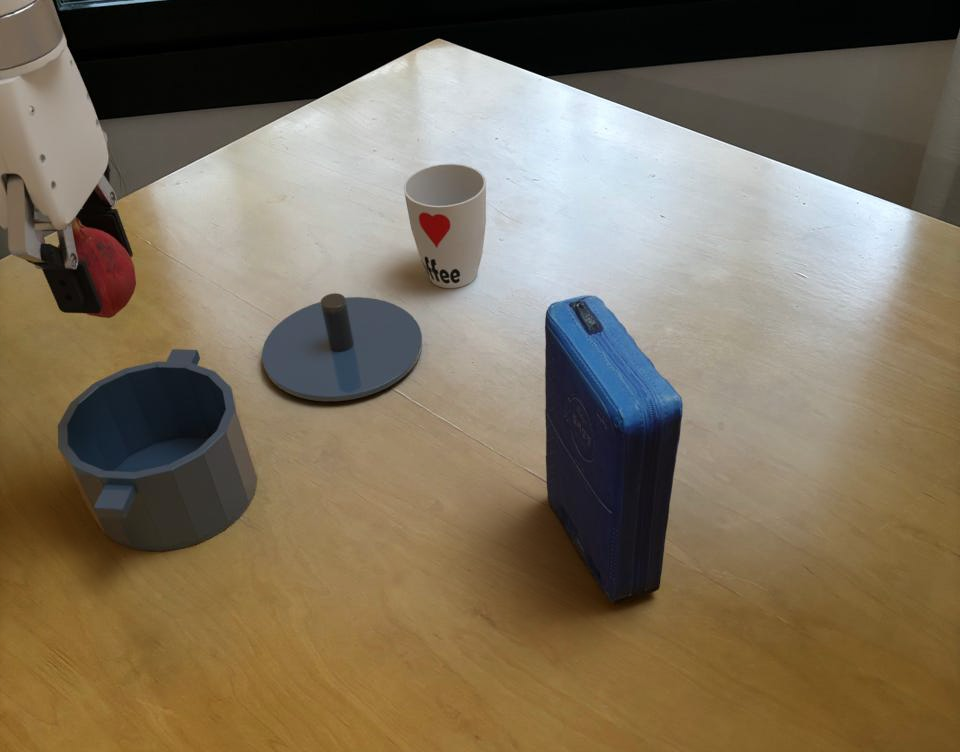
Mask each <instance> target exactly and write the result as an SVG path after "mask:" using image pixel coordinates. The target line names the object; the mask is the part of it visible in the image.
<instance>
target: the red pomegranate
mask: <svg viewBox="0 0 960 752" xmlns="http://www.w3.org/2000/svg"><path fill="white" fill-rule="evenodd" d="M71 226H72V231H73V236H74V241H75V246H76V252H77V257H78V261H85V262H86V265H87V267H88V270H89V272H90V275H91V277H92V280H93V282H94V285H95V287H96V290H97V292H98V295H99V297H100V300H101V302H102V305H103V308H102V310H101V311H100V313H97V314H95V313H85V314H86V315H88V316H91V317H97V318H104V319H105V318H106V319H110V318H113V317H115V316H116V315H117V314H118V313H119V312H121V311H122V310H124V309H125V308H126V307H127V305H128V303H129V302H130V300H131V298H132V297H133V295H134V294H135V289H136V285H137V279H136V270H135V264H134V262H133V259H132V257H130V255H129V254H128V252H127V251H126V249H125V248H124V247H123V246H122V245H121V244H120V243H119V242H118V241H117V240H116V239H115V238H114V237H112V236H111V235H109V234H108V233H105V232H103V231H101V230H98V229H94V228H89V227H85V226H84V225H82V224H81V223H80V220H79V219H76V217H75V218H74V219H73V220H72V221H71ZM57 247H58V248H60V245H59V244H58V245H57Z"/></svg>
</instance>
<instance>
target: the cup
mask: <svg viewBox="0 0 960 752" xmlns="http://www.w3.org/2000/svg"><path fill="white" fill-rule="evenodd" d="M403 192H404V197H405V198H404V199H405V203H406V208H407V213H408V218H409V224H410V225H409V226H410V229H411V233H412V236H413V239H414V242H415V246H416V249H417V252H418V256H419V258H420V261H421V264H422V265H423V267H424V269H425V271H426V274H427V275H428V278H429V279H430V281H431V283H432V284H433V285H435V286H438V287H440V288H442V289H443V288H444V289H459V288H462V287H465V286H468V285H470V284H471V283H473V282H474V281H475V279H476V278H477V276H478V271H479V268H480V264H481V260H482V257H483V253H484V242H485V234H486V224H487V180H486V177H485V175H484V174H483V173H482V172H481V171H480V170H479V169H477V168H474V167H472V166H470V165H465V164H462V163H461V164H460V163H441V164H434V165H430V166H427V167H424V168H422V169H419V170H418V171H416V172H414V173H413V174H411V175H410V176H409V177H407V179H406V180H405V182H404V184H403Z"/></svg>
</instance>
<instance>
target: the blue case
mask: <svg viewBox="0 0 960 752" xmlns="http://www.w3.org/2000/svg"><path fill="white" fill-rule="evenodd" d="M544 335H545V348H544V349H545V351H544V353H545V363H544V364H545V365H544V367H545V368H544V369H545V370H544V377H545V379H544V381H545V383H544V384H545V385H544V386H545V387H544V388H545V389H544V390H545V391H544V393H545V410H544V415H545V416H544V417H545V471H546V472H545V473H546V474H545V475H546V476H545V478H546V491H547V503H548V504H549V506H550V508H551V510H552V511H553V513H554V515H555V516H556V518H557V519H558V520H559V522H560V524H561V526H562V527H563V529H564V530H565V532H566V533H565V534H566V535H567V537H568V538H569V540H570V542H571V543H572V545H573V547H574V549H575V551H576V552H577V554H578V556H579V557H580V558H581V560H582V561H583V563H584V564H585V566H586V567H587V569H588V571H589V572H590V575H592V578H593V579H594V580H595V582H596V584H597V585H598V587H599V588H600V590H601V591H603V593H604V594H605V596H606V598H608V600H610V602H611V603H612V604H613V605H620V604H622V603H625V602H629V601H632V600H635V599H638V598H640V597H643V596H645V595H649V594H653V593H655V592H657V591H659V589H660V588H661V580H662V579H661V578H662V572H663V564H664V554H665V546H666V538H667V537H666V536H667V529H668V523H669V515H670V514H669V513H670V504H671V499H672V492H673V484H674V475H675V470H676V463H677V456H678V450H679V445H680V440H681V439H680V438H681V429H682V420H683V412H684V411H683V409H684V408H683V399H682V396H681V394H680V393H678V391H677V390H676V389H675V388H674V387H673V385H672V384H671V383H670V381H668V380H667V378H665V377H664V376H663V375H661V374H660V372H659V371H658V370H657V369H656V367H655V365H654V363H653V362H652V360H651V359H650V358H649V357H648V356H647V355H646V354H645V353H644V352H643V351H642V350H641V348H639V346H638V345H637V343H636V341H635V339H634V337H632V336H631V335H630V334H629V333H628V331H627V329H626V327H625V326H624V325H623V324H622V323H621V322H620V321H619V319H618V318H617V317H616V314H615V313H614V312H613V311H612V310H610V308H608V307H607V306H606V304H605V302H604V301H603V300H602V299H601V298H599V297H598V296H597V295H589V294H587V295H586V294H584V295H579V296H575V297H571V298H567V299H563V300H559V301H555V302H552V303H551V304H550V305H549V306H548V307H547V310H546V312H545V319H544Z"/></svg>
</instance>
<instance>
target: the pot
mask: <svg viewBox="0 0 960 752" xmlns="http://www.w3.org/2000/svg"><path fill="white" fill-rule="evenodd" d="M200 360H201V357H200V354H199V351H198V349H187V348H186V349H183V348H171V350H170V353H169V355H168V357H167V359H166V361H161V360H160V361H152V362H148V363H144V364H139V365H134V366H129V367H125V368H123V369H121V370H118V371H117V372H114V373H112V374H109V375H107V376H106V377H104V378H102V379H99V380H97V381H95V382H93V383H92V384H90V386H89V387H87V388H86V389H84V391H82V392H81V393H80V394H79V395H78V396H77V397H75V398H74V399H73V400H72V401H71V402H70V403H69V404H68V406H67V408H66V410H65V411H64V413H63V415H62V416H61V418H60V420H59V422H58V424H57V449H58V450H59V453H60V454H61V457H62V458H63V461H64V463H65V464H66V467H67V469H68V470H69V473H70V475H71V476H72V479H73V480H74V483H75V484H76V487H77V489H78V491H79V493H80V494H81V497H82V499H83V501H84V502H85V505H86V507H87V509H88V511H89V512H90V515H91V517H92V518H93V520H94V522H96V524H97V525H98V527H99V528H100V530H101V531H102V532H103V534H105V535H106V536H107V537H108V538H109V539H110V540H112V541H113V542H116V543H117V544H119V545H121V546H124V547H127V548H130V549H133V550H138V551H146V552H164V551H174V550H179V549H184V548H187V547H192V546H194V545H198V544H200V543H203V542H205V541H207V540H210V539H211V538H214V537H215V536H217V535H218V534H220V533H222V532H224V531H225V530H227V529H228V528H229V527H230V526H232V525H233V524H234V523H235V522H236V521H237V520H238V519H240V517H241V516H242V515H243V514H244V513H245V512H246V510H247V509H248V507H250V504H251V503H252V500H253V499H254V497H255V495H256V494H255V493H256V490H257V487H258V472H257V469H256V465H255V460H254V456H253V452H252V450H251V446H250V443H249V440H248V437H247V433H246V430H245V427H244V424H243V421H242V418H241V414H240V411H239V408H238V404H237V401H236V398H235V394H234V392H233V389H232V387H231V386H230V384H228V383H227V382H226V381H225V380H224V379H223V378H222V377H221V376H220V375H219V373H217V372H216V371H215V370H212V369H210V368H206V367H203V366H201V365H198V364H199V362H200Z"/></svg>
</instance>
